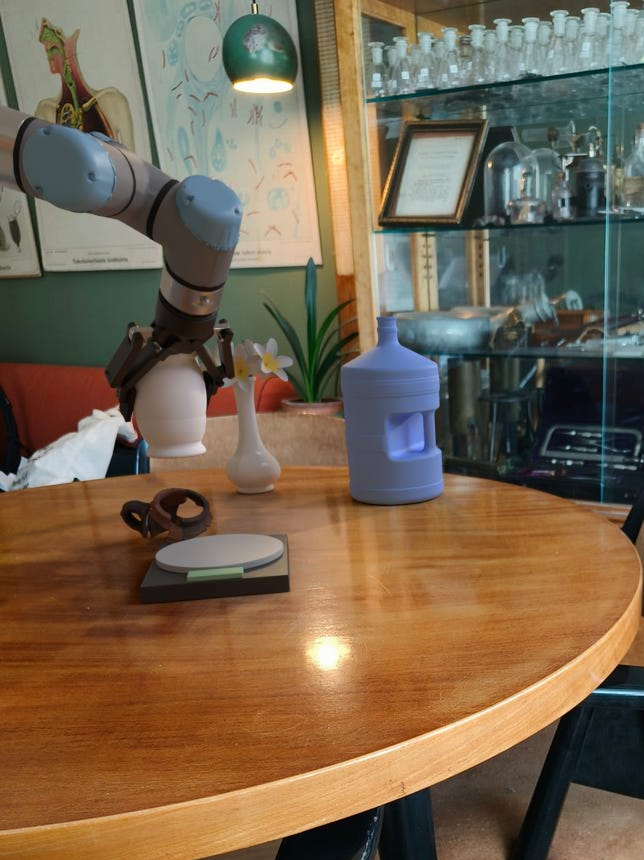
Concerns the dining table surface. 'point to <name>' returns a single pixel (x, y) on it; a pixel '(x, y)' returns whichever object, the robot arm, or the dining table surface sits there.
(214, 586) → the scale
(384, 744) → the dining table surface
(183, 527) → the pottery mug
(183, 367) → the jar
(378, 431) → the water jug
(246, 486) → the flower vase
